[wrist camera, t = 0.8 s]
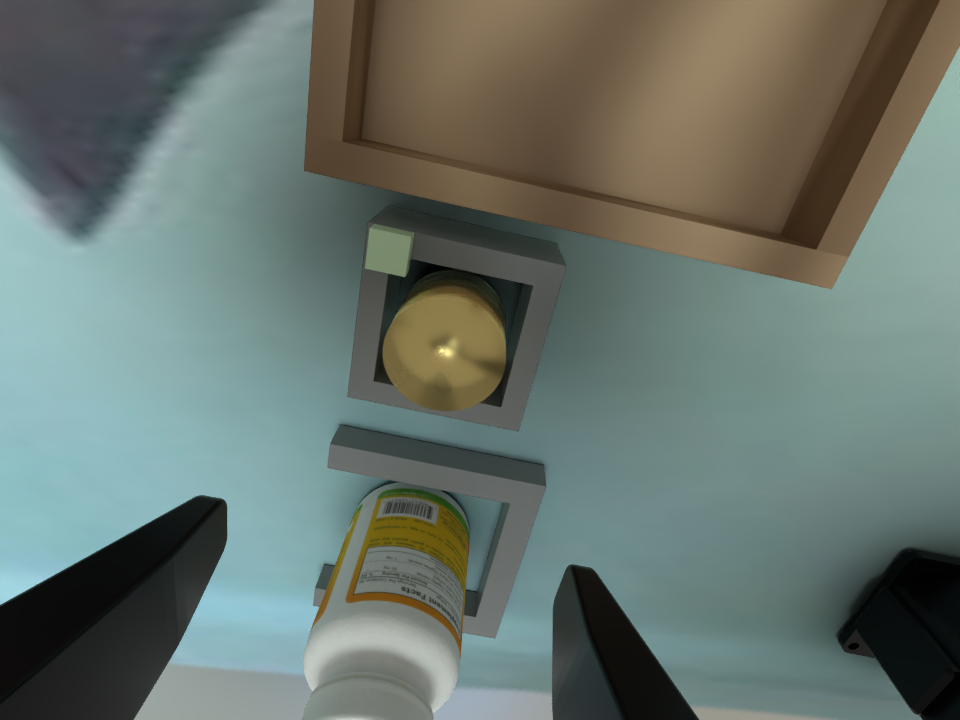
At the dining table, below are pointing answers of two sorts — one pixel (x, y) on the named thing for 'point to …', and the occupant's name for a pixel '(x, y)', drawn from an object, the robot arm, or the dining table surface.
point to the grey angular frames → (447, 467)
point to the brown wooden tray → (636, 115)
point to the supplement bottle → (391, 610)
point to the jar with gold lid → (447, 342)
